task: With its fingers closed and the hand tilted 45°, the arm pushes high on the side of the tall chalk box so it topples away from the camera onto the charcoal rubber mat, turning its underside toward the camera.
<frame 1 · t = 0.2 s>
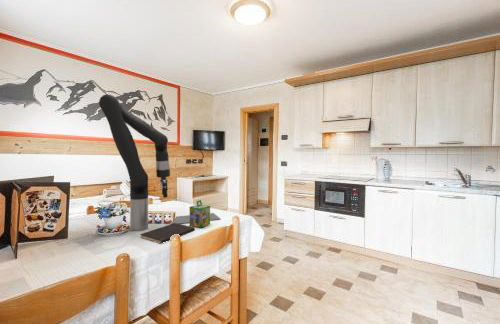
hand: (164, 195, 144), 18 cm above the table, tool pointing down, fingers open, 8 cm apart
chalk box: (200, 225, 147), on the table
hardcover book: (168, 235, 131), on the table
charcoal mat: (194, 218, 159), on the table
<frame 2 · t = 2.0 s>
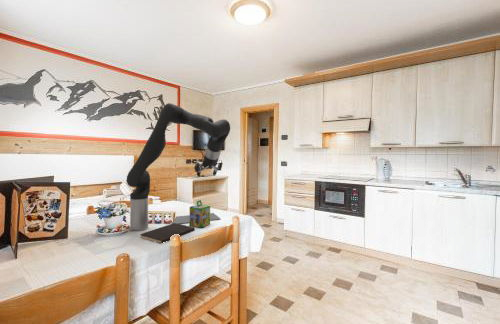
hand: (206, 175, 134), 31 cm above the table, tool tilted 45°, fingers open, 8 cm apart
nothing on the table moved.
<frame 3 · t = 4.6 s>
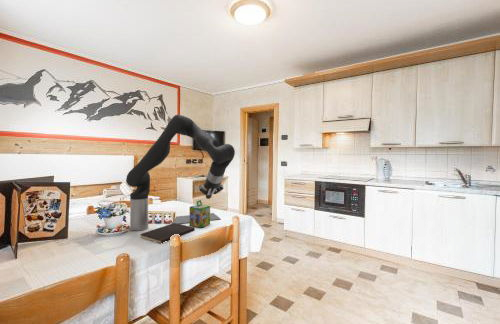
hand: (207, 197, 129), 20 cm above the table, tool tilted 45°, fingers closed
nothing on the table moved.
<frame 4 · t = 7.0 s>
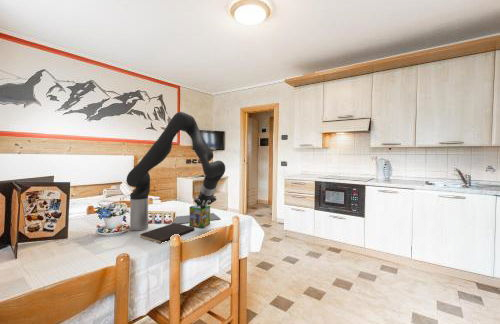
hand: (202, 207, 141), 12 cm above the table, tool tilted 45°, fingers closed
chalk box: (200, 225, 147), on the table, touching gripper
everything else where it was.
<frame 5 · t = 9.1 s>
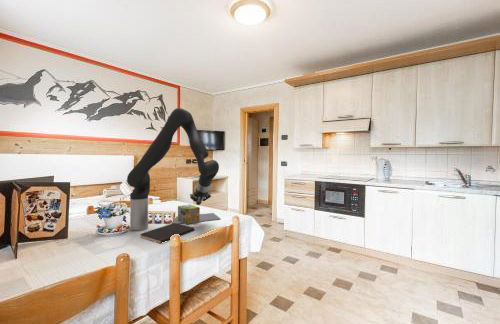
hand: (198, 203, 150), 12 cm above the table, tool tilted 45°, fingers closed
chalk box: (193, 215, 148), point 5 cm above the table, touching charcoal mat
everything else where it was.
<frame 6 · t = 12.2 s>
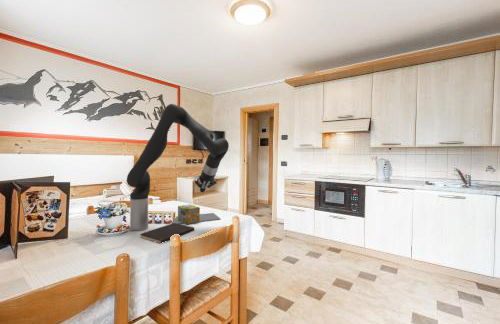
hand: (201, 191, 141), 21 cm above the table, tool tilted 40°, fingers closed
nothing on the table moved.
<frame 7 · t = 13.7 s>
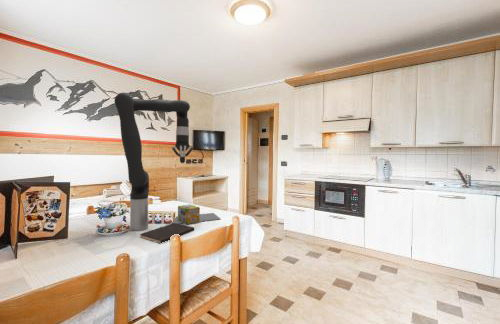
hand: (182, 163, 149), 37 cm above the table, tool pointing down, fingers closed
nothing on the table moved.
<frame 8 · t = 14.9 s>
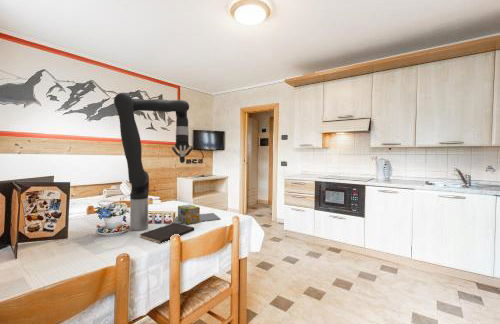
hand: (182, 162, 149), 37 cm above the table, tool pointing down, fingers closed
nothing on the table moved.
at the end: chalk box tilted 90°; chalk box inside the target area (5.8 cm from its centre), point 5.1 cm above the table; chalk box touching charcoal mat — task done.
